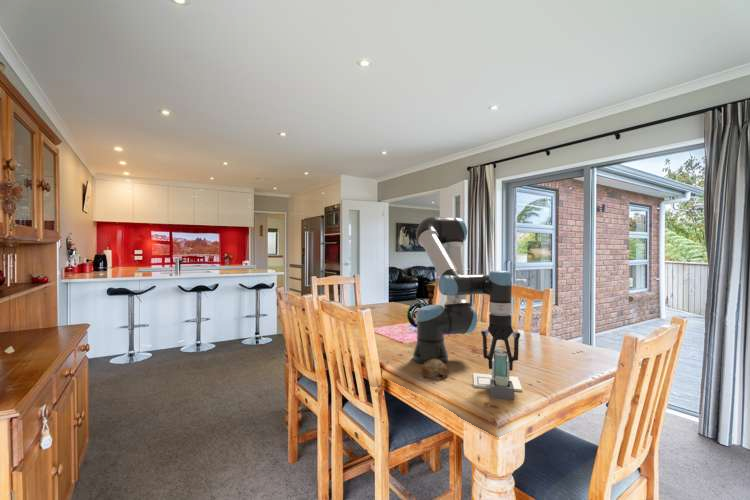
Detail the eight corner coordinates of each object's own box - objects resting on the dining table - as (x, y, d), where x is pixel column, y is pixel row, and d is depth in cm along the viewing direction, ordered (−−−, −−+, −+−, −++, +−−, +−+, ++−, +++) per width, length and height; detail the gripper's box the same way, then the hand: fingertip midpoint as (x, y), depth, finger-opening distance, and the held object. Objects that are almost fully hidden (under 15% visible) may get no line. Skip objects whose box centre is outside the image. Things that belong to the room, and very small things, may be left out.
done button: (495, 391, 116) (495, 379, 116) (495, 386, 120) (494, 374, 120) (508, 392, 115) (508, 380, 115) (507, 387, 119) (507, 376, 119)
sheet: (473, 387, 124) (473, 384, 124) (473, 375, 136) (473, 372, 136) (522, 391, 120) (522, 389, 120) (517, 379, 131) (517, 376, 131)
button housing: (491, 397, 115) (491, 386, 115) (490, 389, 122) (490, 379, 122) (514, 399, 114) (514, 388, 113) (511, 391, 120) (511, 381, 120)
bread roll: (427, 389, 131) (432, 373, 128) (414, 369, 140) (419, 354, 136) (449, 385, 135) (454, 369, 132) (435, 366, 144) (440, 351, 140)
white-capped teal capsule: (494, 383, 125) (494, 352, 125) (493, 378, 129) (493, 349, 129) (507, 384, 124) (507, 353, 124) (506, 379, 128) (506, 350, 128)
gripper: (475, 314, 125) (475, 379, 125) (527, 316, 121) (528, 384, 121) (475, 310, 133) (475, 372, 133) (524, 313, 128) (524, 376, 128)
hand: (500, 378), depth 127 cm, fingers closed on white-capped teal capsule, 4 cm apart
